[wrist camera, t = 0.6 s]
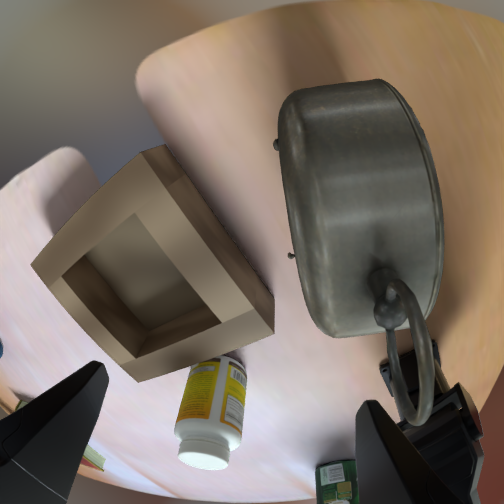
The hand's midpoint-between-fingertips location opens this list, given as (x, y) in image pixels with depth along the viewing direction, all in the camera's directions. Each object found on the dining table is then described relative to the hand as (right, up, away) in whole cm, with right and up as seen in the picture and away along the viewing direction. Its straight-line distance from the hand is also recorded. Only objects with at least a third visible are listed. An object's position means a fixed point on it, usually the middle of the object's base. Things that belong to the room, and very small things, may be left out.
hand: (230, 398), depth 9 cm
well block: (-7, +3, +14) cm, 16 cm away
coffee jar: (+16, -33, +30) cm, 48 cm away
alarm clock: (+6, +10, +10) cm, 15 cm away
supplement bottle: (-2, -7, +19) cm, 20 cm away
